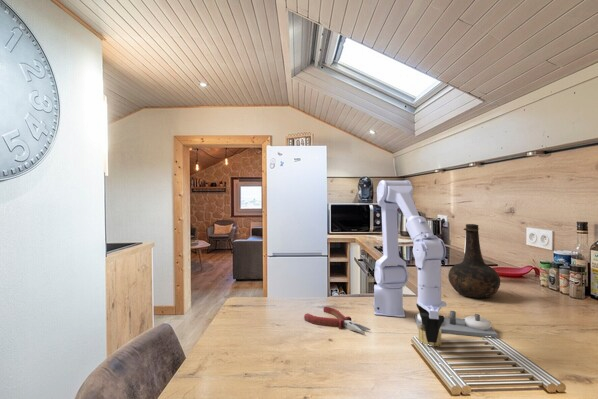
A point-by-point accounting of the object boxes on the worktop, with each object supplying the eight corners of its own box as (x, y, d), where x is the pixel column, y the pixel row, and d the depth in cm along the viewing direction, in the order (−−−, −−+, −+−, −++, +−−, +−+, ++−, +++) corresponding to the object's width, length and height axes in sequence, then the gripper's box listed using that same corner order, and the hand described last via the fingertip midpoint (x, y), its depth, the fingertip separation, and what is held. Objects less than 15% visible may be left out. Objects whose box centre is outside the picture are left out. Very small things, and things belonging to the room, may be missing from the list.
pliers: (355, 342, 80) (355, 332, 80) (302, 321, 95) (302, 313, 95) (378, 329, 88) (378, 320, 88) (326, 312, 103) (326, 304, 103)
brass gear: (420, 345, 77) (419, 331, 77) (417, 336, 82) (417, 323, 82) (443, 348, 76) (442, 333, 76) (439, 338, 81) (438, 325, 81)
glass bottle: (496, 291, 124) (495, 223, 124) (504, 305, 108) (503, 226, 108) (448, 286, 131) (447, 222, 132) (448, 298, 115) (448, 225, 116)
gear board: (418, 330, 86) (418, 314, 86) (414, 317, 96) (414, 303, 96) (497, 338, 81) (497, 321, 81) (485, 323, 91) (485, 308, 91)
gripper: (452, 293, 71) (452, 351, 71) (440, 278, 85) (441, 327, 85) (420, 291, 73) (420, 348, 73) (413, 277, 87) (414, 324, 87)
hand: (429, 336), depth 79 cm, fingers closed on brass gear, 5 cm apart
